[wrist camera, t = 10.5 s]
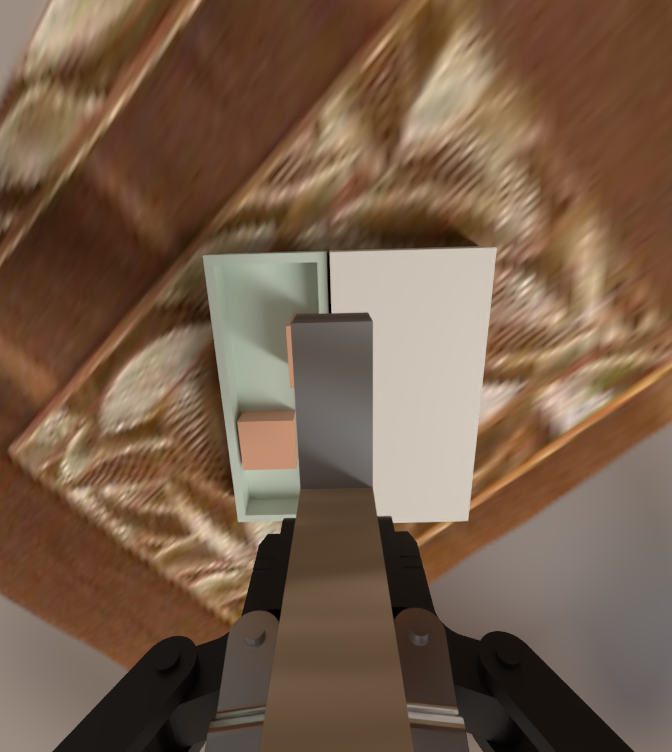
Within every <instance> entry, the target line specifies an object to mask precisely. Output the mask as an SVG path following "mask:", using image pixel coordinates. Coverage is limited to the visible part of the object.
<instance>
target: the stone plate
mask: <svg viewBox="0 0 672 752" xmlns="http://www.w3.org/2000/svg"><path fill="white" fill-rule="evenodd" d="M496 249H497V247H484V246H467V247H431V248H395V249H359V250H330V282H331V313H363V312H368V313H369V315H370V317H371V319H372V321H373V492H374V498H375V505H376V511H377V516H391V517H392V521H393V523H405V522H448V521H468V516H469V507H470V497H471V488H472V478H473V469H474V459H475V450H476V440H477V430H478V421H479V411H480V402H481V392H482V383H483V373H484V364H485V354H486V344H487V335H488V325H489V316H490V306H491V297H492V287H493V278H494V268H495V259H496Z"/></svg>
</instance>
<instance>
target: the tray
mask: <svg viewBox="0 0 672 752" xmlns="http://www.w3.org/2000/svg"><path fill="white" fill-rule="evenodd" d="M203 263H204V270H205V277H206V285H207V292H208V300H209V307H210V315H211V322H212V330H213V337H214V345H215V352H216V360H217V367H218V375H219V382H220V389H221V397H222V404H223V412H224V419H225V427H226V434H227V442H228V449H229V457H230V464H231V472H232V479H233V487H234V494H235V502H236V509H237V516H238V522H260V521H283V519H284V518H296V514H297V507H298V501H299V495H300V475H299V458H298V464H297V469H270V470H243V464H242V456H241V448H240V440H239V432H238V424H237V422H238V420H239V418H240V416H241V414H242V412H243V411H277V410H296V408H295V391H294V388H290V378H289V364H288V350H287V336H286V325H287V323H288V321H289V319H290V317H291V316H292V314H298V313H318V314H325V313H329V291H328V260H327V250H323V251H287V252H251V253H215V254H208V255H203Z"/></svg>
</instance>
